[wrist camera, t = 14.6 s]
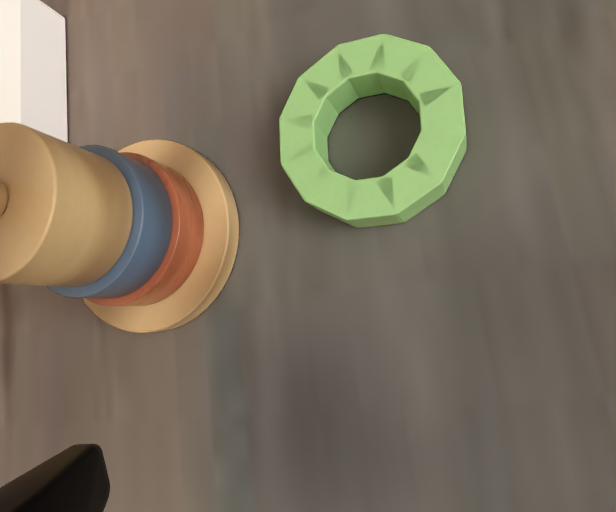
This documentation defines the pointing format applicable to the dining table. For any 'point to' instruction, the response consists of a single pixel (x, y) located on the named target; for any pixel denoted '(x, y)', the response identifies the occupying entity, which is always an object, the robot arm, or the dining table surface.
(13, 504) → the robot arm
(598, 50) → the dining table surface
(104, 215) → the ring stand
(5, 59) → the holder
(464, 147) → the green ring
